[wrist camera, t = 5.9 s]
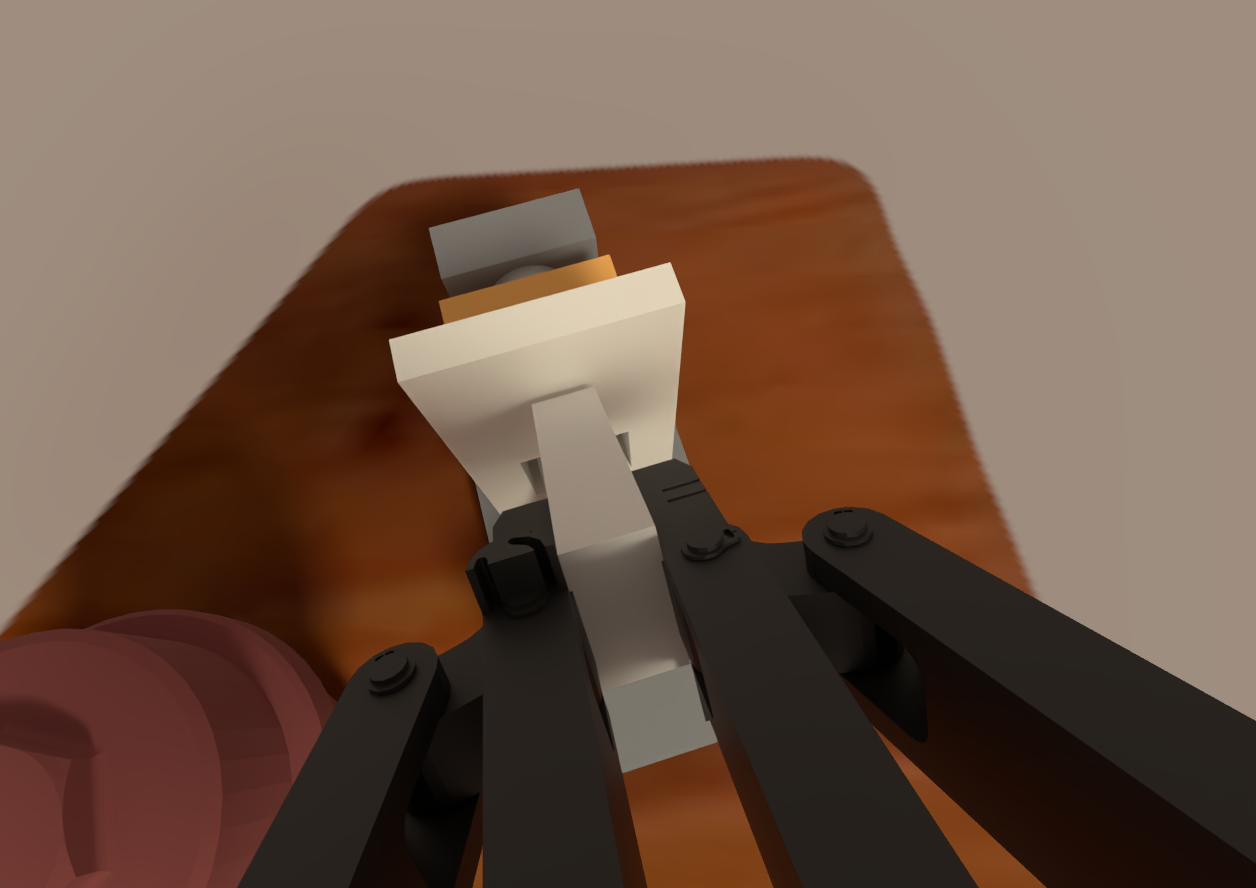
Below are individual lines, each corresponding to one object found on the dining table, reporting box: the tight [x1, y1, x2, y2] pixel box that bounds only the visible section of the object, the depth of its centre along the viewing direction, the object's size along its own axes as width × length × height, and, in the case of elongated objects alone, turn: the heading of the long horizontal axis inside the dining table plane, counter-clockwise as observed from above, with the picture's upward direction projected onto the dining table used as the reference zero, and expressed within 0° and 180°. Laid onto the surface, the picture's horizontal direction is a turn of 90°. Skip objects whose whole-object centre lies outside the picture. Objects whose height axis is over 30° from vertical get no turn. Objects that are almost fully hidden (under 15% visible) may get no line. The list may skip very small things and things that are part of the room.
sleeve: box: [389, 263, 685, 515], centre depth 21 cm, size 4×6×12 cm, turn 107°
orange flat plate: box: [439, 255, 617, 324], centre depth 23 cm, size 1×5×5 cm, turn 107°
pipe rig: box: [429, 189, 718, 773], centre depth 24 cm, size 17×8×8 cm, turn 17°
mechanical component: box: [0, 609, 337, 888], centre depth 19 cm, size 12×10×10 cm
